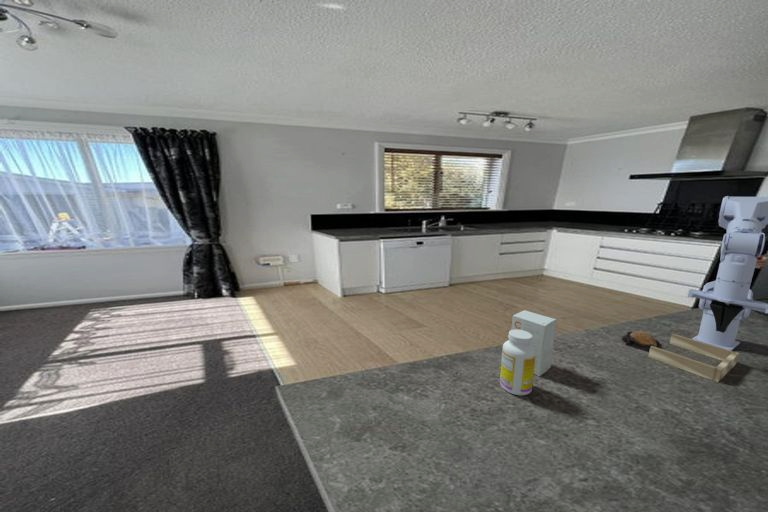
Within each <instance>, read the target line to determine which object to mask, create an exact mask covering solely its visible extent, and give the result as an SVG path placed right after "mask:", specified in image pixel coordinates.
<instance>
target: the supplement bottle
mask: <svg viewBox="0 0 768 512" xmlns="http://www.w3.org/2000/svg"><path fill="white" fill-rule="evenodd" d="M507 336H508V340H506V341H505V342H503V344H502V351H501V362H500V363H501V364H500V375H499V383H500V386H501V388H502V389H503V390H504V391H506V392H508V393H510V394H513V395H516V396H526V395H529V394H531V393H532V390H533V383H534V375H535V374H534V367H535V357H536V350H535V348H534V347H533V346H532V345H531V342H532V335H531V334H530V333H529V332H526V331H523V330H512V329H510V330H509V331H508V335H507Z"/></svg>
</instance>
